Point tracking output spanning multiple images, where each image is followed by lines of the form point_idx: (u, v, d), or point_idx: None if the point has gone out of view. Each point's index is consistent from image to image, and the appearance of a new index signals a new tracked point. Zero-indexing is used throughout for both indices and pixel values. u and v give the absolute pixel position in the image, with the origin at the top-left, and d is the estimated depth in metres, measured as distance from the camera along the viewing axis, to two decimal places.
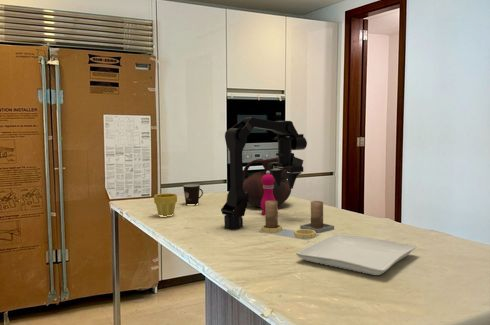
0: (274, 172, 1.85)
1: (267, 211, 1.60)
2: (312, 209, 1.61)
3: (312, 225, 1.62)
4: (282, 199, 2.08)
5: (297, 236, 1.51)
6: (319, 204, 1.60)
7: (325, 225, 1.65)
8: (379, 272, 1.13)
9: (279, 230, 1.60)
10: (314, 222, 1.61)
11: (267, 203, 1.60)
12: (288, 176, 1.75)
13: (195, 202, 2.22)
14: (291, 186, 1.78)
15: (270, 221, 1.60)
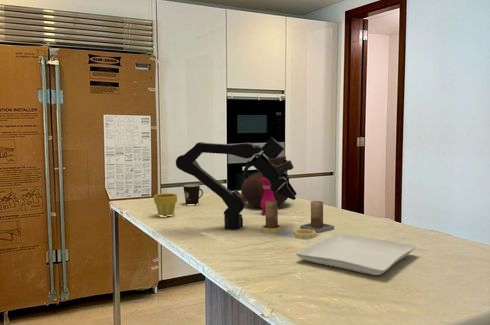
0: None
1: (267, 211, 1.60)
2: (312, 209, 1.61)
3: (312, 225, 1.62)
4: (282, 199, 2.08)
5: (297, 236, 1.51)
6: (319, 204, 1.60)
7: (325, 225, 1.65)
8: (379, 272, 1.13)
9: (279, 230, 1.60)
10: (314, 222, 1.61)
11: (267, 203, 1.60)
12: None
13: (195, 202, 2.22)
14: (292, 197, 1.58)
15: (269, 221, 1.60)
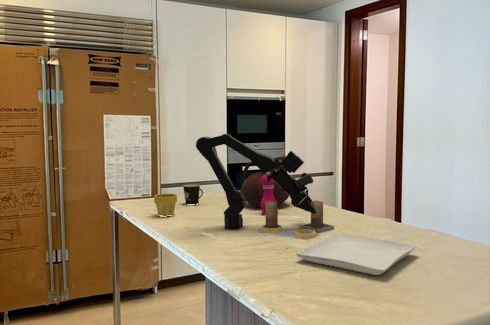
0: None
1: (267, 211, 1.60)
2: None
3: (312, 225, 1.62)
4: (282, 199, 2.08)
5: (297, 236, 1.51)
6: (319, 204, 1.60)
7: (325, 225, 1.65)
8: (379, 272, 1.13)
9: (279, 230, 1.60)
10: (314, 222, 1.61)
11: (267, 203, 1.60)
12: (300, 208, 1.57)
13: (195, 202, 2.22)
14: (313, 211, 1.58)
15: (270, 221, 1.60)
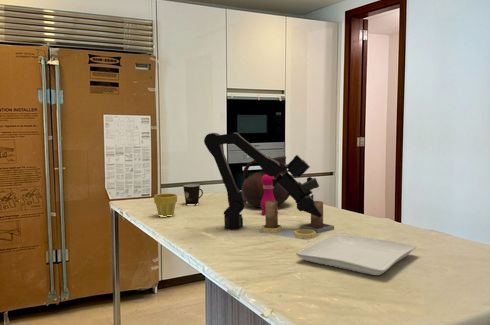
0: None
1: (267, 211, 1.60)
2: None
3: (312, 225, 1.62)
4: (282, 199, 2.08)
5: (297, 236, 1.51)
6: (319, 204, 1.60)
7: (325, 225, 1.65)
8: (379, 272, 1.13)
9: (279, 230, 1.60)
10: (314, 222, 1.61)
11: (267, 203, 1.60)
12: None
13: (195, 202, 2.22)
14: (318, 215, 1.60)
15: (270, 221, 1.60)
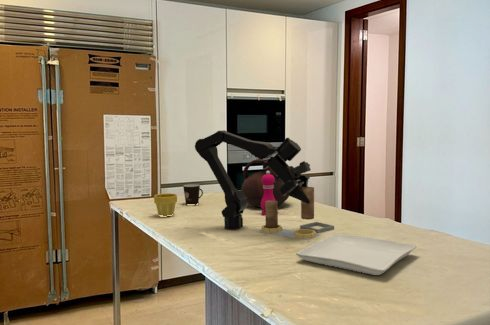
0: None
1: (267, 211, 1.60)
2: None
3: (301, 212, 1.54)
4: (282, 199, 2.08)
5: (297, 236, 1.51)
6: (308, 190, 1.51)
7: (325, 225, 1.65)
8: (379, 272, 1.13)
9: (279, 230, 1.60)
10: (303, 209, 1.53)
11: (267, 203, 1.60)
12: (292, 196, 1.52)
13: (195, 202, 2.22)
14: (306, 201, 1.51)
15: (270, 221, 1.60)
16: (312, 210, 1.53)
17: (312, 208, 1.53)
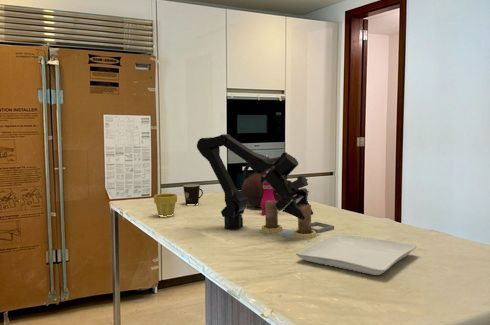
0: None
1: (267, 211, 1.60)
2: None
3: (298, 229, 1.53)
4: None
5: (297, 236, 1.51)
6: (304, 208, 1.51)
7: (325, 225, 1.65)
8: (379, 272, 1.13)
9: (279, 230, 1.60)
10: (300, 226, 1.52)
11: (267, 203, 1.60)
12: None
13: (195, 202, 2.22)
14: (301, 217, 1.49)
15: (270, 221, 1.60)
16: (309, 228, 1.52)
17: (309, 226, 1.52)
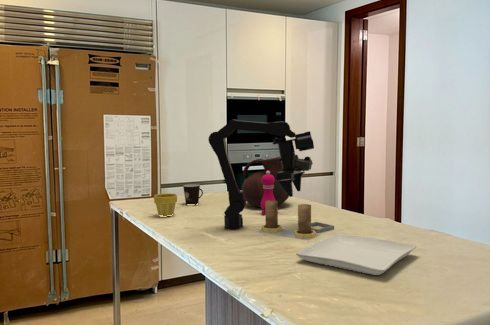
0: None
1: (267, 211, 1.60)
2: (298, 212, 1.52)
3: (298, 229, 1.53)
4: (282, 199, 2.08)
5: (297, 236, 1.51)
6: (304, 208, 1.50)
7: (325, 225, 1.65)
8: (379, 272, 1.13)
9: (279, 230, 1.60)
10: (300, 226, 1.52)
11: (267, 203, 1.60)
12: None
13: (195, 202, 2.22)
14: (289, 194, 1.60)
15: (270, 221, 1.60)
16: (309, 228, 1.52)
17: (309, 226, 1.52)
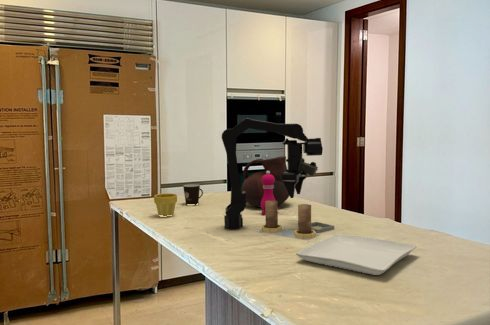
0: None
1: (267, 211, 1.60)
2: (298, 212, 1.52)
3: (298, 229, 1.53)
4: (282, 199, 2.08)
5: (297, 236, 1.51)
6: (304, 208, 1.50)
7: (325, 225, 1.65)
8: (379, 272, 1.13)
9: (279, 230, 1.60)
10: (300, 226, 1.52)
11: (267, 203, 1.60)
12: None
13: (195, 202, 2.22)
14: (290, 195, 1.63)
15: (270, 221, 1.60)
16: (309, 228, 1.52)
17: (309, 226, 1.52)
